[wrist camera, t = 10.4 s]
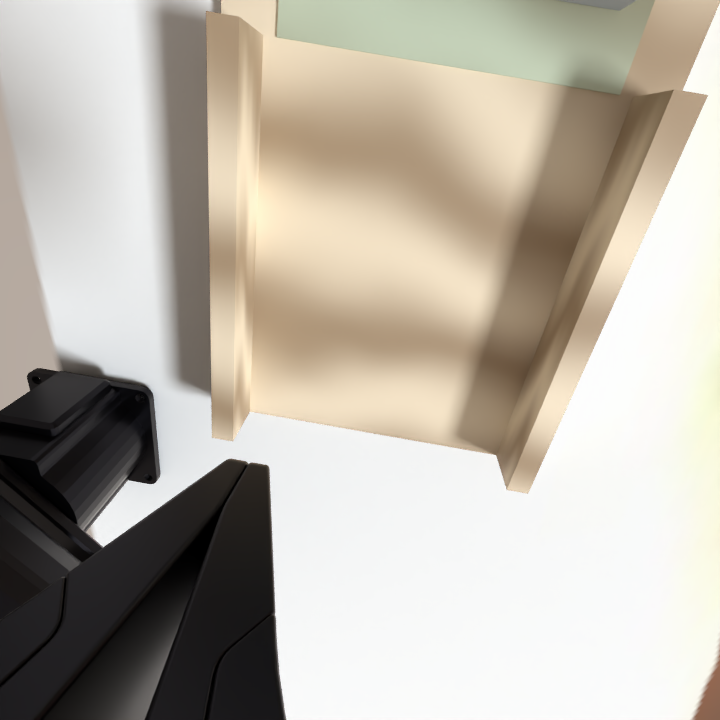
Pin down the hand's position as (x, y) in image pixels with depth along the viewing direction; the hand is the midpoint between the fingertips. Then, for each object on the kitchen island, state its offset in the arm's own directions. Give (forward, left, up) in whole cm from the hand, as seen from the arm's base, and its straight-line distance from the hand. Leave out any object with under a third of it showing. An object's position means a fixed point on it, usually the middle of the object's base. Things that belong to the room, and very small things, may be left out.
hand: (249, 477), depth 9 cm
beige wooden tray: (+5, -3, -12) cm, 13 cm away
